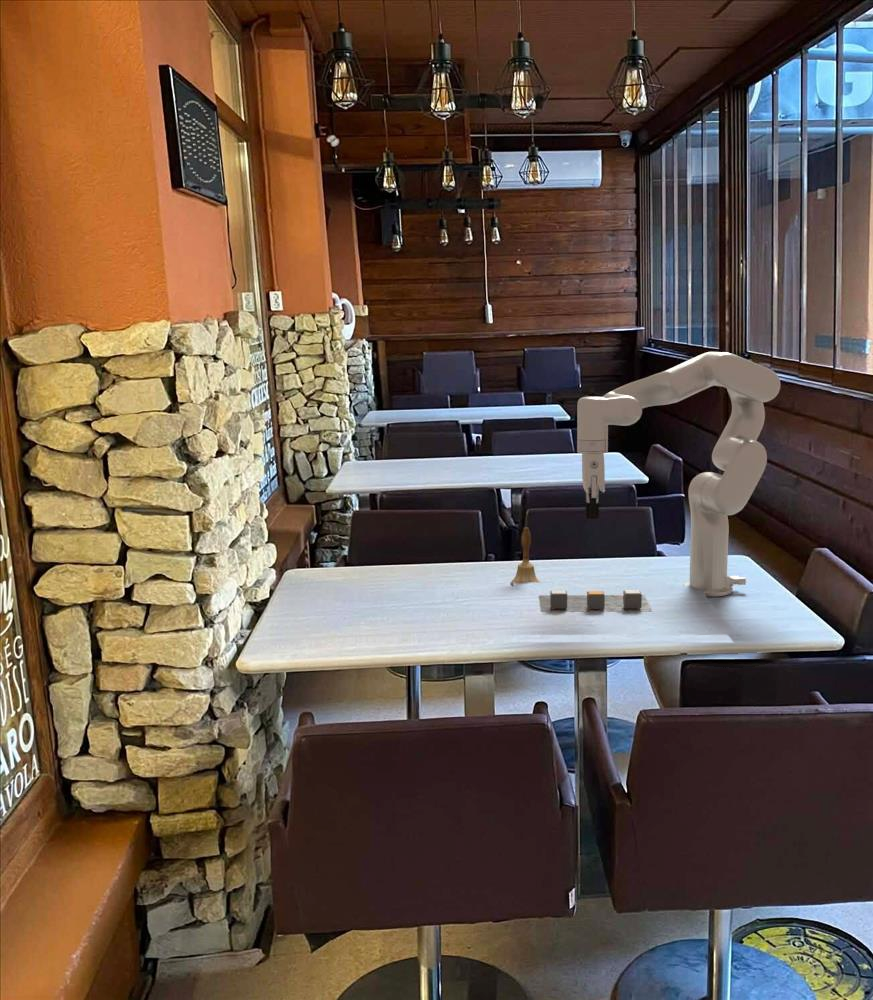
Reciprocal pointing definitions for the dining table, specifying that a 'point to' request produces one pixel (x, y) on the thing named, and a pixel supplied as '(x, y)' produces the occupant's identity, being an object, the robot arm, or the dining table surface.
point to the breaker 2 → (632, 599)
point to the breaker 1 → (558, 599)
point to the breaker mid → (595, 600)
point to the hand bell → (525, 561)
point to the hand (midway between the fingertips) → (592, 518)
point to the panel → (580, 605)
